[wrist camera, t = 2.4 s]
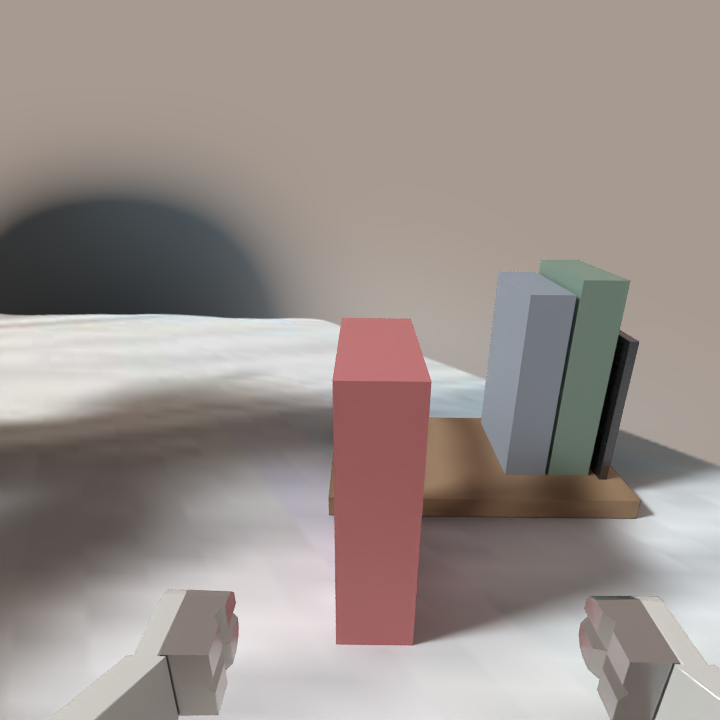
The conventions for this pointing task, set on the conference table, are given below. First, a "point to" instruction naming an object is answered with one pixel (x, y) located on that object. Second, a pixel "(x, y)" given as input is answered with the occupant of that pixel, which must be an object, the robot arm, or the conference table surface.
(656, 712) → the robot arm
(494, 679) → the conference table surface
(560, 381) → the shelved books
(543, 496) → the board
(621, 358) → the bookend
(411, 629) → the tall pink pillar
